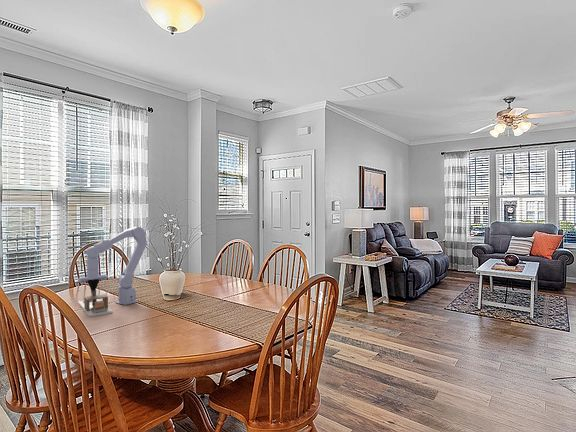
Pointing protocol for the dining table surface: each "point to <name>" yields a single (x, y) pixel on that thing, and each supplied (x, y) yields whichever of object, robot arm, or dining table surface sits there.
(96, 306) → the block
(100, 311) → the sled
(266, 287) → the dining table surface
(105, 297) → the tunnel deck
